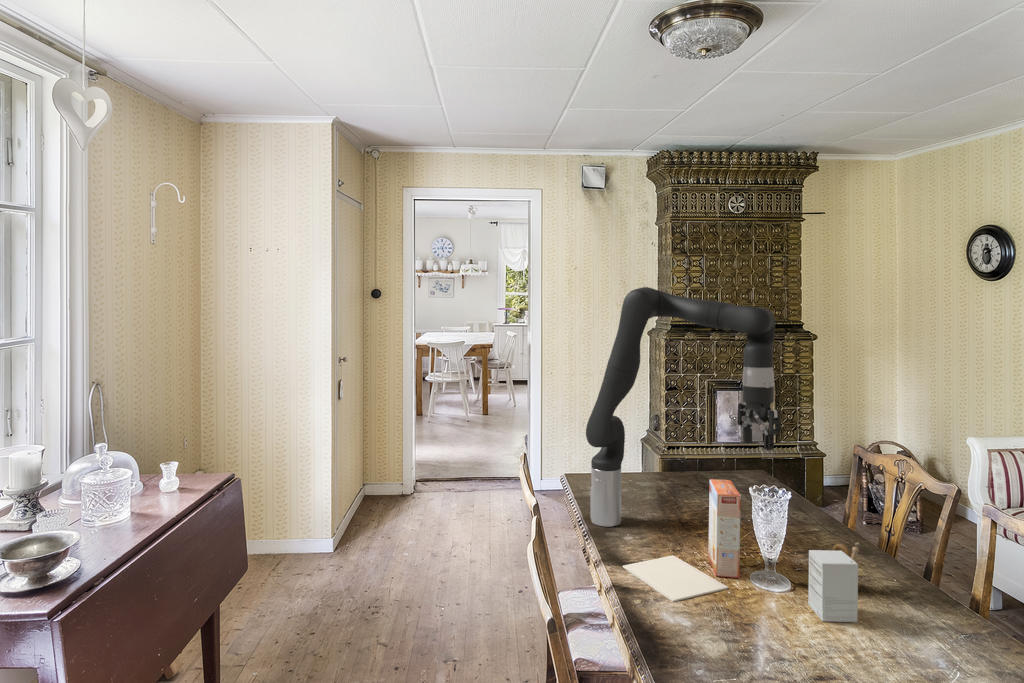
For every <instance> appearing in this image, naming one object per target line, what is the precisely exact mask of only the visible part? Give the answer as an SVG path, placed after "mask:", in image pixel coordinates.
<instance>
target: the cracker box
mask: <svg viewBox="0 0 1024 683" xmlns="http://www.w3.org/2000/svg"><path fill="white" fill-rule="evenodd" d="M708 484H709V490H708V491H709V495H708V497H709V498H708V502H709V503H708V507H709V508H708V550H707V551H708V552H707V554H708V558H709V560H710V561H709V562H710V564H711V567H712V569H713V571H714V572H713V573H714V575H715V576H716V577H722V578H732V579H733V578H735V579H740V551H741V549H740V548H741V547H740V545H741V543H740V542H741V541H740V540H741V504H742V502H741V499H742V495H741V494H740V492H739V491H738V489H737V487H736V486H735V485H734V483H733V481H732V480H729V479H712V478H711V479H709V483H708Z"/></svg>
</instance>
